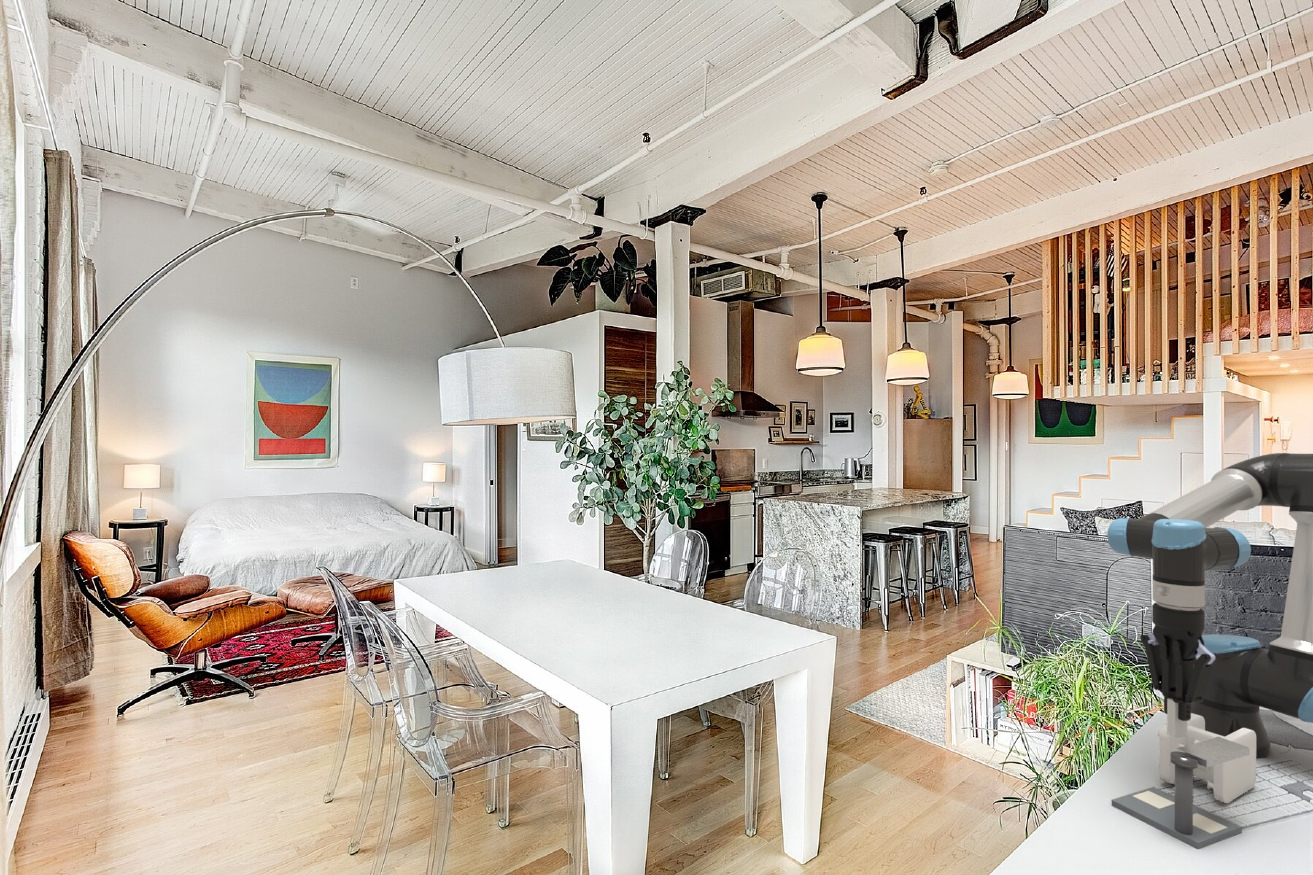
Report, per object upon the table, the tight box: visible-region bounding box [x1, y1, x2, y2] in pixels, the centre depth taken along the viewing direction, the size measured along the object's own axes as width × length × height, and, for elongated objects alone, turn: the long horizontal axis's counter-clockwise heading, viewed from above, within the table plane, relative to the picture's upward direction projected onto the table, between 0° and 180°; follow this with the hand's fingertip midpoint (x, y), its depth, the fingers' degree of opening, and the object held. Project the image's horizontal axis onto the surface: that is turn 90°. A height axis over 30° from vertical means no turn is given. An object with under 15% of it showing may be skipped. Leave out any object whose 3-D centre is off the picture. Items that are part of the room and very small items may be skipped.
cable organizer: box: [1157, 713, 1257, 804], centre depth 129 cm, size 15×11×12 cm
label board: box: [1111, 765, 1243, 850], centre depth 118 cm, size 12×14×12 cm
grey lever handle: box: [1170, 737, 1249, 769], centre depth 115 cm, size 16×5×1 cm, turn 112°
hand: (1177, 735), depth 122 cm, fingers closed
